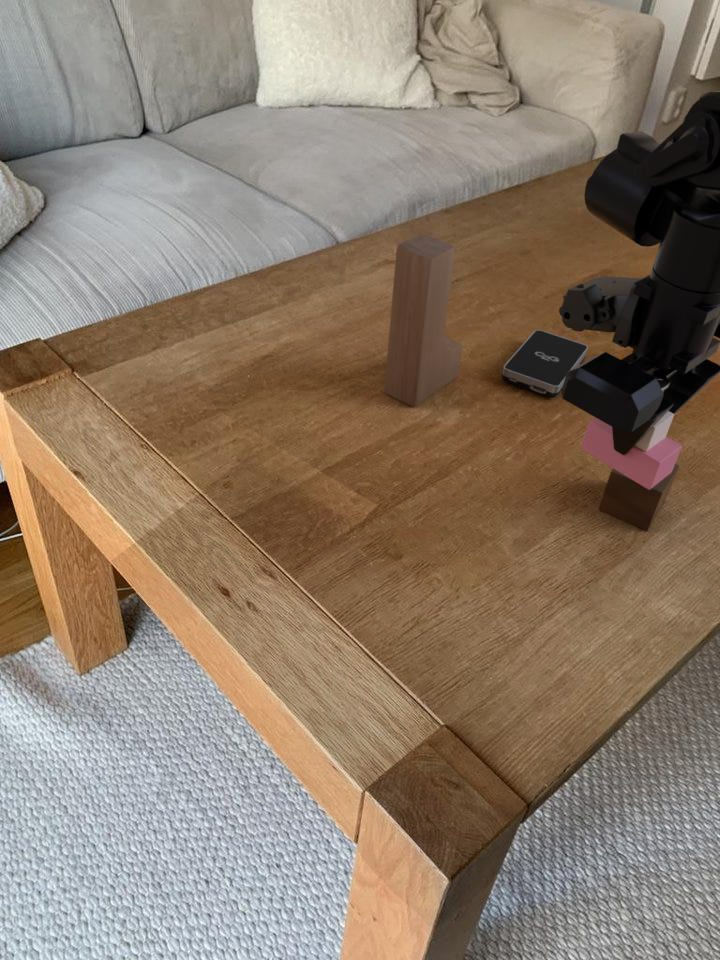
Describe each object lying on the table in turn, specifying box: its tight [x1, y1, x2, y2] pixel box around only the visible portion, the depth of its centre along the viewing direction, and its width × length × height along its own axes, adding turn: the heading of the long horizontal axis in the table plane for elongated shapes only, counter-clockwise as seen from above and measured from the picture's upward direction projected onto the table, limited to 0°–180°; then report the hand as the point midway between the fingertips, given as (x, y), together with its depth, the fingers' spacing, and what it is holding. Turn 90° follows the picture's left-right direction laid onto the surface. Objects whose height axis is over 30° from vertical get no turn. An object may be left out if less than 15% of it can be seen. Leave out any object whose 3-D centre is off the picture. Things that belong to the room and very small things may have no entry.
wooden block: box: [383, 233, 463, 408], centre depth 89 cm, size 9×4×18 cm, turn 141°
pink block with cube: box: [580, 411, 683, 490], centre depth 69 cm, size 7×4×6 cm, turn 43°
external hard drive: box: [501, 329, 589, 399], centre depth 98 cm, size 7×11×2 cm, turn 149°
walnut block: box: [598, 463, 680, 532], centre depth 79 cm, size 5×5×5 cm
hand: (632, 442), depth 69 cm, fingers closed on pink block with cube, 3 cm apart
